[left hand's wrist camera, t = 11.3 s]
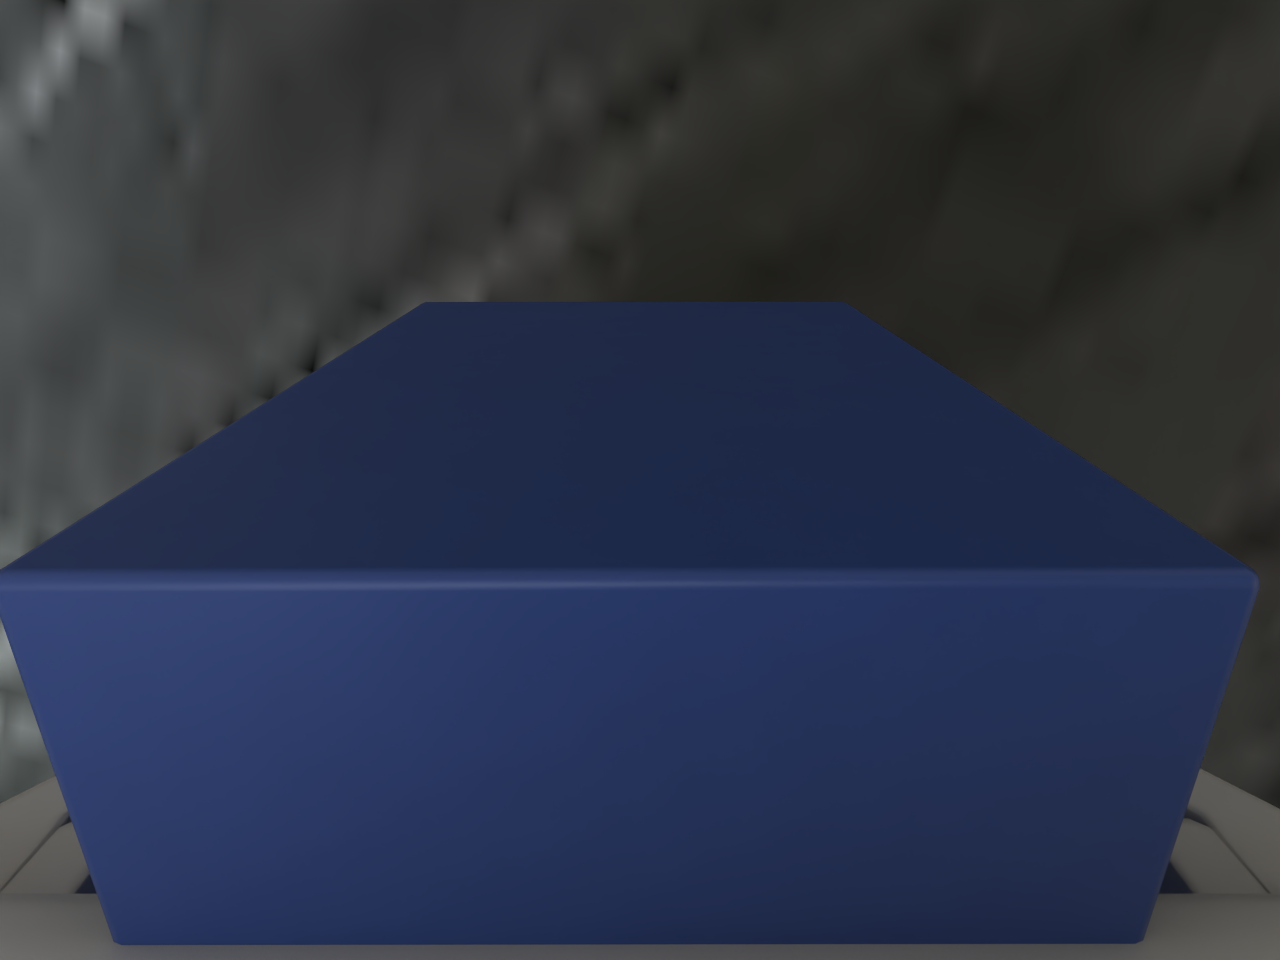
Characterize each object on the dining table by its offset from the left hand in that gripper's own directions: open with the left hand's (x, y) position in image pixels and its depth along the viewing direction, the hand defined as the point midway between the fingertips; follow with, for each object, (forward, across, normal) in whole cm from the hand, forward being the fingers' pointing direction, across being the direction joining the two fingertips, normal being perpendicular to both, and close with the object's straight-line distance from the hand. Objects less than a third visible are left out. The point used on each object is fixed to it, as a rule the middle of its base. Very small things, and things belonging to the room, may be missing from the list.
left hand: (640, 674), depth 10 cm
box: (+3, 0, -8) cm, 9 cm away
